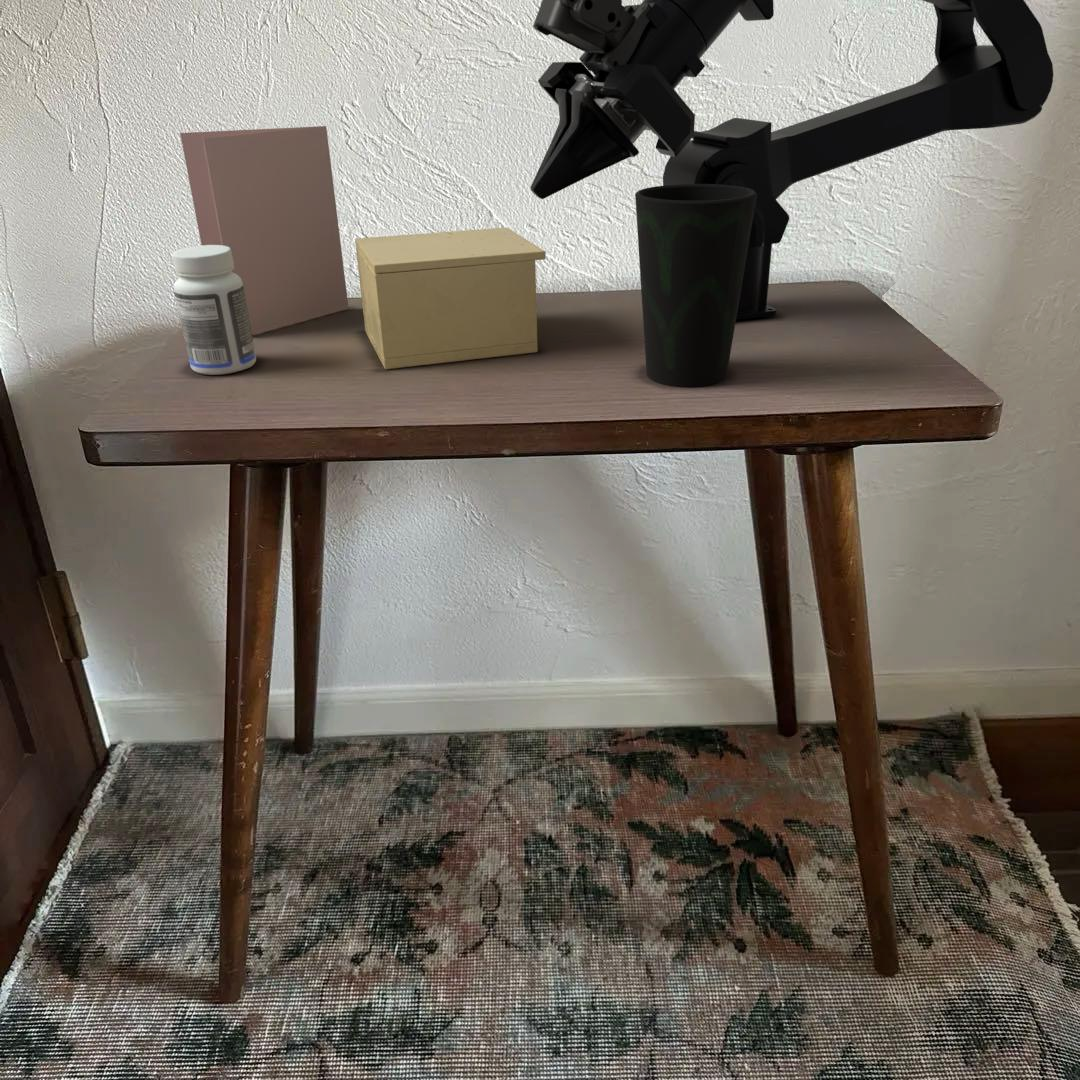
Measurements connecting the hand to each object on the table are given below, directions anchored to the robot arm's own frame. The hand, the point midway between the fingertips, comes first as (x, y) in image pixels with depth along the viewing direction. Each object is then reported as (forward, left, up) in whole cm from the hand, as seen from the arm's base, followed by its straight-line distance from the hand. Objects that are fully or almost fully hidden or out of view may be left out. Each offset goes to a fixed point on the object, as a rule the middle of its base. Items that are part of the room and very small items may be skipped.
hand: (535, 194), depth 71 cm
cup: (-7, +14, -11) cm, 19 cm away
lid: (+7, 0, -4) cm, 8 cm away
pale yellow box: (+7, 0, -11) cm, 13 cm away
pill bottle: (+24, 0, -11) cm, 27 cm away
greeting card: (+19, -11, -11) cm, 25 cm away
